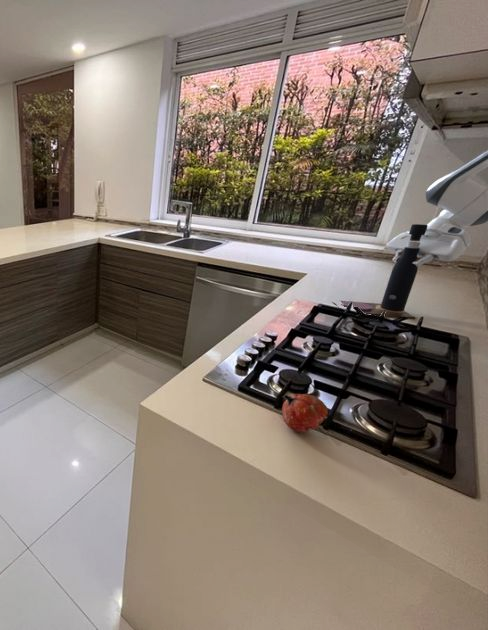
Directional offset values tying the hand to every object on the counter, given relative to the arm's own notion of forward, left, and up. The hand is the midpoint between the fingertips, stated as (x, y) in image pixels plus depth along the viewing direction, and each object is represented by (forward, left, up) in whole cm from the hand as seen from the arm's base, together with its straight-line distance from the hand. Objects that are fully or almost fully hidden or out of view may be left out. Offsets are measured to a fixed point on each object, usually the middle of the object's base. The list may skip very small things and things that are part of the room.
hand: (404, 263), depth 119 cm
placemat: (+5, 0, -18) cm, 19 cm away
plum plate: (+10, 0, -18) cm, 21 cm away
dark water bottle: (-1, 0, -17) cm, 17 cm away
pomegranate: (+51, +83, -18) cm, 99 cm away
